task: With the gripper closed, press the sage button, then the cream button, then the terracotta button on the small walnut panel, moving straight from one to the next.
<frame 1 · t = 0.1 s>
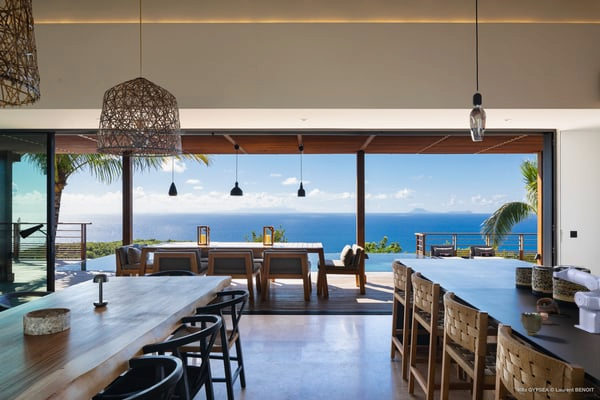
hand: (556, 270, 178), 22 cm above the counter, tool horizontal, fingers open, 7 cm apart
terracotta button: (544, 315, 167), point 3 cm above the counter, slide at 0.0 cm
pottery mug: (547, 313, 184), on the counter
button panel: (535, 322, 167), on the counter
sage button: (535, 315, 167), point 3 cm above the counter, slide at 0.0 cm
cream button: (527, 315, 167), point 3 cm above the counter, slide at 0.0 cm
cup: (531, 335, 150), on the counter
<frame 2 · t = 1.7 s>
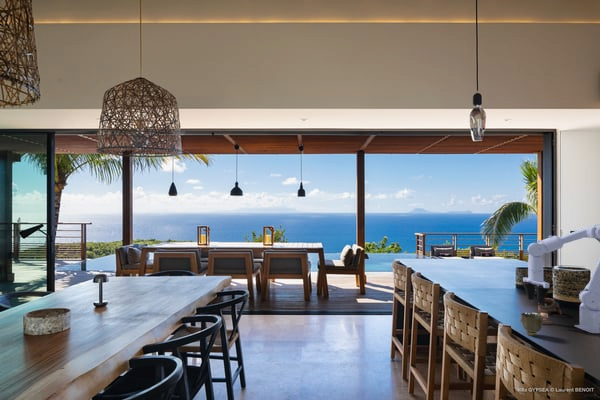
hand: (535, 301, 167), 9 cm above the counter, tool pointing down, fingers open, 6 cm apart
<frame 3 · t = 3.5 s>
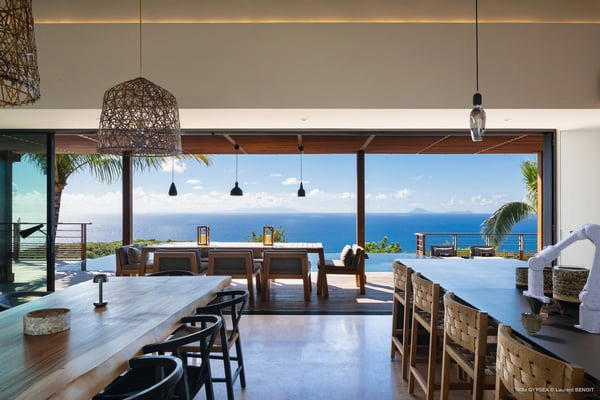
hand: (535, 315, 167), 3 cm above the counter, tool pointing down, fingers closed, pressing on sage button
sage button: (535, 317, 167), point 2 cm above the counter, slide at 0.7 cm, touching gripper
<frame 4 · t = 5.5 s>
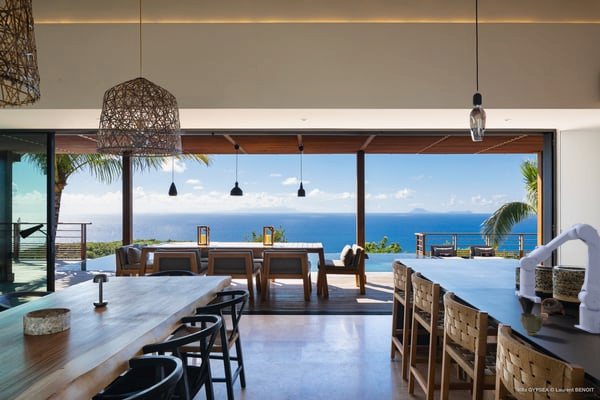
hand: (527, 315, 167), 3 cm above the counter, tool pointing down, fingers closed, pressing on cream button
sage button: (535, 317, 167), point 2 cm above the counter, slide at 0.7 cm
cream button: (527, 317, 167), point 2 cm above the counter, slide at 0.7 cm, touching gripper
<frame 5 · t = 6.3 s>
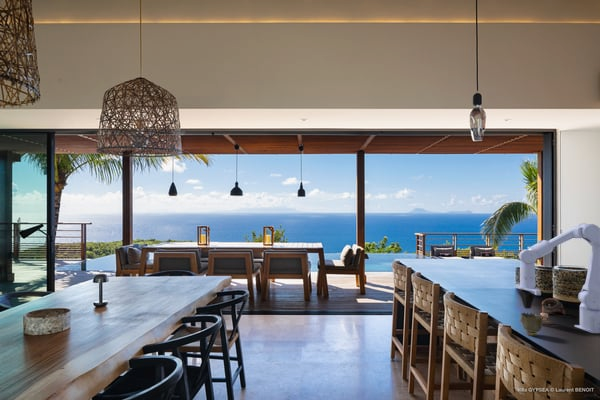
hand: (527, 308, 167), 6 cm above the counter, tool pointing down, fingers closed
cream button: (527, 317, 167), point 2 cm above the counter, slide at 0.7 cm
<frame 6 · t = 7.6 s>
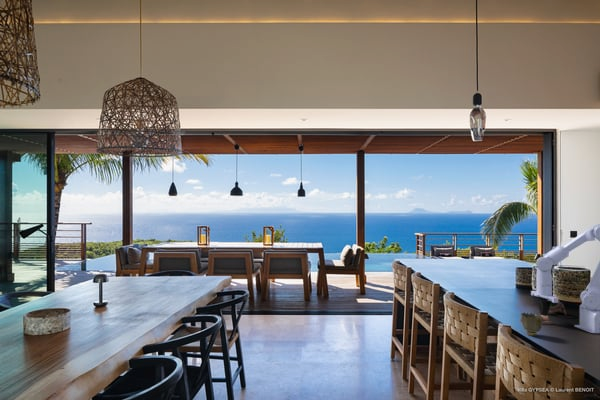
hand: (544, 315, 167), 3 cm above the counter, tool pointing down, fingers closed, pressing on terracotta button
terracotta button: (544, 317, 167), point 2 cm above the counter, slide at 0.7 cm, touching gripper
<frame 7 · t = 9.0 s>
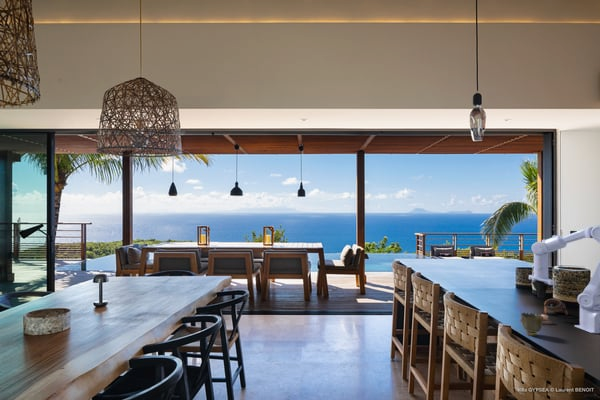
hand: (541, 297, 174), 9 cm above the counter, tool pointing down, fingers closed
terracotta button: (544, 317, 167), point 2 cm above the counter, slide at 0.7 cm
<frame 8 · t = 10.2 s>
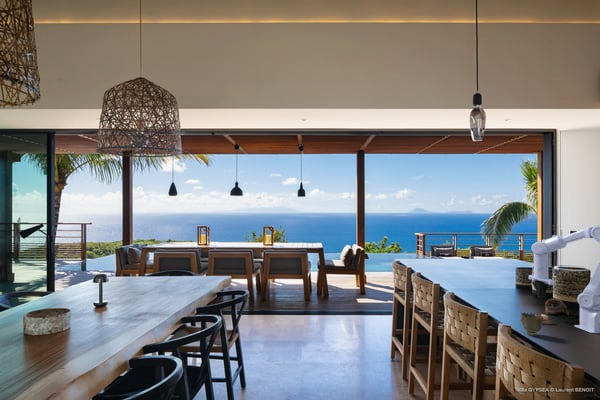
hand: (541, 297, 174), 9 cm above the counter, tool pointing down, fingers closed
at the end: sage button slide at 0.7 cm; cream button slide at 0.7 cm; terracotta button slide at 0.7 cm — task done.
